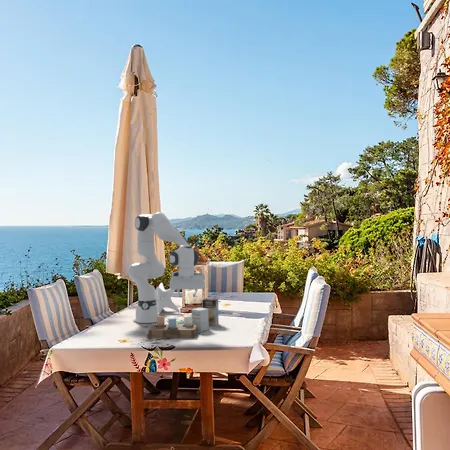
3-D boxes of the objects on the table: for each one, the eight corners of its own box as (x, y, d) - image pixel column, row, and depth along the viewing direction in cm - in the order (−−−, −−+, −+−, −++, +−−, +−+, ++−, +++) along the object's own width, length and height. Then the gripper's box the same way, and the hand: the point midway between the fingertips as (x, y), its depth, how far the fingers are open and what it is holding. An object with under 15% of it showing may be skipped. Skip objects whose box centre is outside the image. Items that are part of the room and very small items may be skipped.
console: (153, 332, 293) (153, 324, 293) (197, 332, 291) (197, 324, 291) (148, 338, 278) (148, 330, 278) (194, 337, 276) (194, 329, 276)
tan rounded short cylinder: (157, 326, 291) (157, 316, 291) (165, 326, 291) (165, 316, 291) (156, 327, 286) (155, 317, 286) (164, 327, 286) (163, 317, 286)
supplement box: (199, 328, 303) (199, 307, 303) (209, 329, 298) (208, 308, 298) (191, 330, 297) (191, 309, 297) (200, 331, 292) (200, 310, 292)
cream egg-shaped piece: (184, 326, 290) (184, 315, 290) (192, 325, 290) (192, 315, 290) (183, 327, 286) (183, 317, 286) (191, 327, 285) (191, 317, 285)
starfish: (179, 311, 364) (179, 284, 365) (158, 315, 350) (157, 287, 350) (162, 308, 378) (161, 282, 378) (140, 312, 364) (140, 285, 364)
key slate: (169, 328, 284) (168, 318, 284) (177, 328, 283) (176, 318, 283) (167, 330, 279) (167, 319, 279) (176, 330, 279) (175, 319, 279)
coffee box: (202, 325, 310) (201, 299, 310) (205, 323, 316) (204, 298, 316) (216, 326, 308) (215, 300, 308) (219, 324, 314) (218, 298, 314)
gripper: (205, 272, 290) (205, 295, 290) (170, 272, 291) (171, 296, 291) (204, 273, 284) (204, 297, 284) (168, 273, 285) (169, 297, 285)
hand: (187, 296), depth 288 cm, fingers open, 7 cm apart
